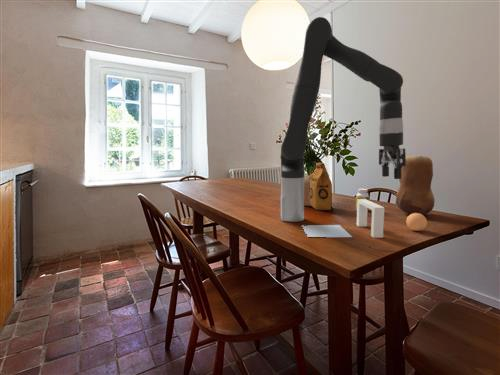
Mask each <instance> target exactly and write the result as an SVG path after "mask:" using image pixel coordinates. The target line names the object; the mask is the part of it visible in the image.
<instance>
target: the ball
mask: <svg viewBox="0 0 500 375" xmlns="http://www.w3.org/2000/svg"><path fill="white" fill-rule="evenodd" d="M405 222H406V225H407V228H409V229H411V230H412V231H415V232H416V231H417V232H420V231H422V230H424V229H425V228H426V227H427V225H428V220H427V218H426V217H425V215H422V214H419V213H413V214H409V215H408V216H407V217H406V221H405Z"/></svg>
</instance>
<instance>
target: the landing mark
mask: <svg viewBox="0 0 500 375" xmlns="http://www.w3.org/2000/svg"><path fill="white" fill-rule="evenodd" d="M304 225H305V226H304ZM306 225H307V224H302V225H301V226H300V227H301V228H302V227H303V228H302V229H304V230H303V231H304V233H305V235H306V234H307V235H306V236H307V238H308V237H326V238H353V235H351V234H350V233H349V232H348V231H347V230H345V228H343V227H342V226H341V225H340V224H317V225H316V224H315V225H314V224H313V225H312V224H309V225H307V226H306Z"/></svg>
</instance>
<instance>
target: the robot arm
mask: <svg viewBox="0 0 500 375" xmlns="http://www.w3.org/2000/svg"><path fill="white" fill-rule="evenodd" d="M304 34H305V35H304V43H303V51H302V58H301V62H300V65H299V67H298V68H299V69H298V73H297V75H296V79H295V84H294V88H293V93H292V97H291V104H290V112H289V113H290V114H289V121H288V127H287V130H286V132H285V136H284V138H283V141H282V143H281V147H280V219H281V221H282V222H293V223H294V222H303V221H304V220H305V162H304V161H305V152H306V145H307V144H306V143H307V136H308V130H309V126H310V122H311V120H312V117H313V113H314V110H315V108H316V103H317V100H318V96H319V91H320V85H321V79H322V78H321V77H322V65H323V63H322V62H323V58H324V57H327V58H329V59H331V60H332V61H335V62H337V63H338V64H339V65H341V66H342V67H345V68H346V69H348V70H349V72H352V73H353V74H355V75H356V76H358V77H359V78H360V79H361V80H364V81H365V82H368V83H369V82H370V83H371V84H373V85H374V86H376V87H377V88H378V89H379V90H378V91H379V102H380V107H379V108H380V109H379V130H378V132H379V137H378V138H379V146H380V147H383V148H380V149H379V148H378V165H379V166H380V167H381V172H382V173H381V174H382V175H381V176H382V177H389V176H390V164H392V165H393V179H395V180H399V179H401V168H402V167H403V166H406V157H407V156H406V148H403V147H402V148H400V146H403V145H404V121H403V104H402V100H401V99H402V94H401V93H402V86H403V84H404V78H403V76H402V75H401V74H400V72H398V71H397V70H395V69H393V68H391V67H390V66H387V65H384V64H382V63H380V62H379V61H378V60H377V59H375V58H373V57H371V56H370V55H369V54H367V53H365V52H363V51H361V50H358V49H356V48H352V47H349V46H347V45H345V44H344V43H342V42H341V41H340V40H339V39H337V38H336V36H334V35H333V30H332V25H331V23H330V22H329V20H328V19H327V18H325V17H323V16H318V17H315V18H314V19H313V20H311V21H310V22H309V24H308V25H307V28H306V29H305V33H304Z"/></svg>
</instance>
